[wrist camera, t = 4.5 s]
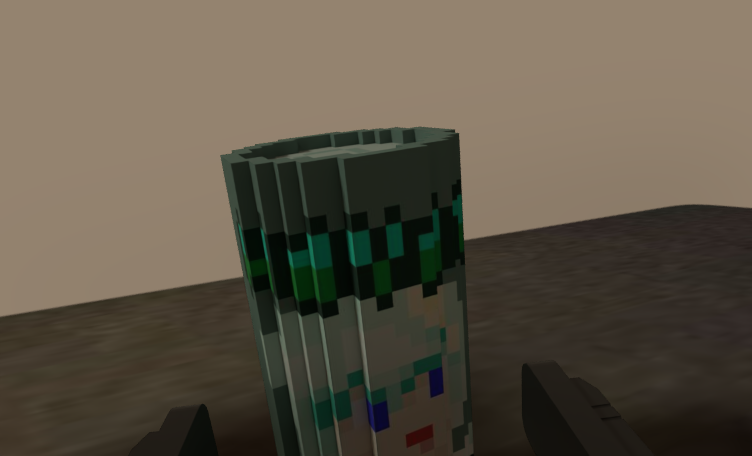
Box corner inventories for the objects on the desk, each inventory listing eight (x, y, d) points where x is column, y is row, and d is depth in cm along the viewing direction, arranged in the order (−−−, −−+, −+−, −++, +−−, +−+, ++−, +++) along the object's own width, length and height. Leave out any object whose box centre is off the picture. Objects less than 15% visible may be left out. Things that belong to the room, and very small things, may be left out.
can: (338, 695, 14) (245, 175, 9) (286, 528, 19) (212, 149, 15) (511, 593, 16) (501, 133, 11) (420, 468, 21) (391, 124, 17)
